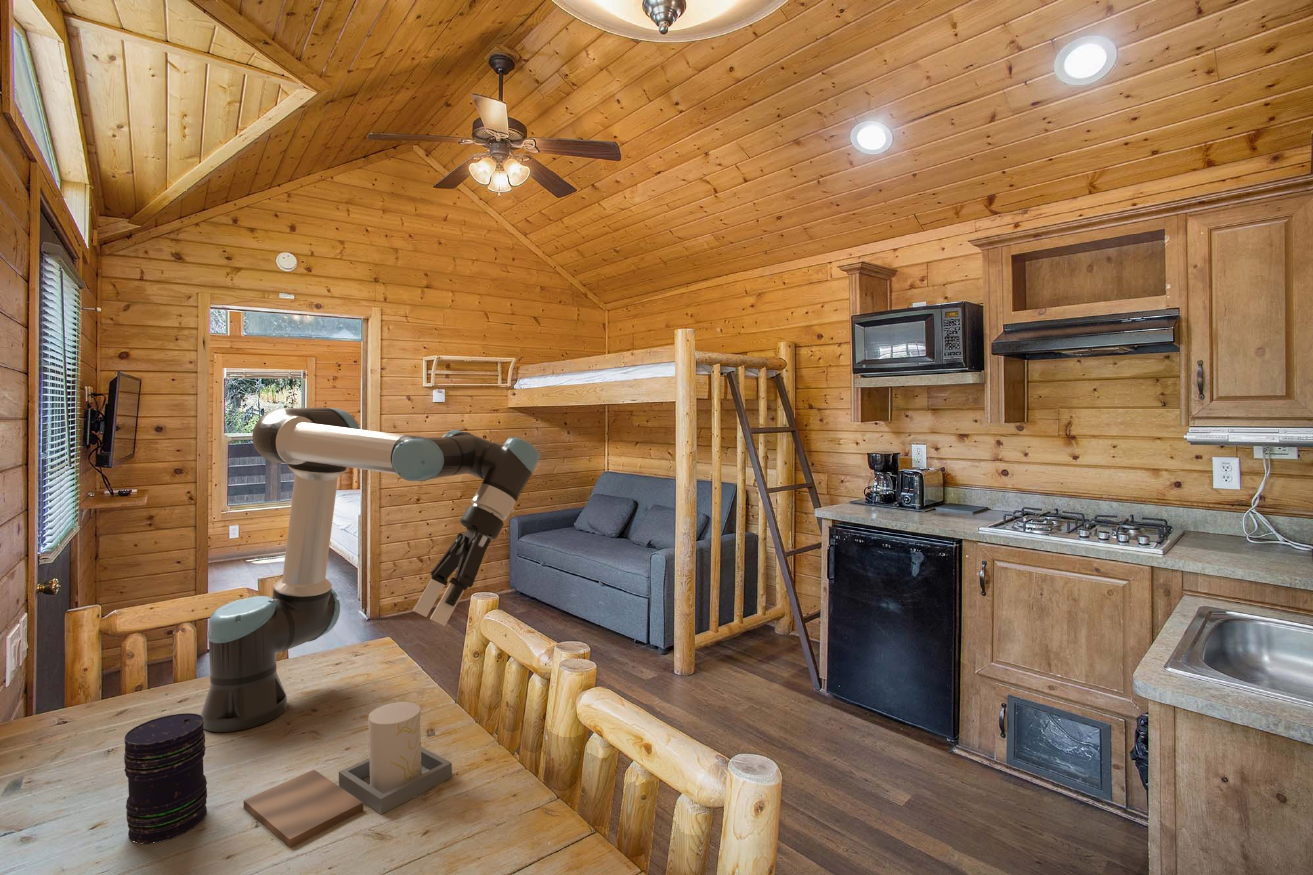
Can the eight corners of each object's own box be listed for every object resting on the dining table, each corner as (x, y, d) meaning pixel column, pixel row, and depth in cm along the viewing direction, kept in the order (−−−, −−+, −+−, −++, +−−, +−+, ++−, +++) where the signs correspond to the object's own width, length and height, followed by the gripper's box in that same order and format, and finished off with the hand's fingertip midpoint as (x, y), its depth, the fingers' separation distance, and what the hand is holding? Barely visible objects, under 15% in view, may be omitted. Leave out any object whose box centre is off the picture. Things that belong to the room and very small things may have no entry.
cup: (403, 798, 105) (402, 726, 105) (359, 792, 107) (357, 721, 107) (430, 771, 113) (429, 703, 113) (389, 766, 115) (387, 700, 114)
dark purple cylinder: (143, 853, 93) (139, 751, 92) (115, 830, 98) (111, 733, 97) (220, 816, 101) (216, 722, 100) (190, 796, 106) (187, 707, 106)
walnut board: (243, 807, 103) (243, 800, 103) (314, 776, 112) (314, 769, 112) (289, 847, 94) (289, 839, 94) (363, 809, 102) (362, 802, 102)
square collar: (339, 786, 109) (338, 771, 109) (409, 753, 119) (408, 740, 119) (381, 814, 101) (380, 799, 101) (452, 776, 111) (451, 762, 111)
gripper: (527, 521, 114) (465, 636, 106) (484, 523, 135) (430, 618, 127) (491, 500, 111) (425, 616, 103) (452, 505, 132) (395, 602, 124)
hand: (427, 618), depth 115 cm, fingers open, 13 cm apart
